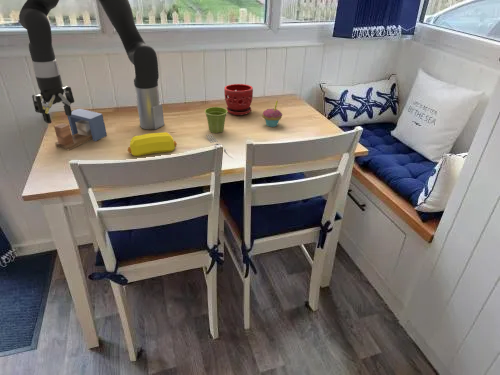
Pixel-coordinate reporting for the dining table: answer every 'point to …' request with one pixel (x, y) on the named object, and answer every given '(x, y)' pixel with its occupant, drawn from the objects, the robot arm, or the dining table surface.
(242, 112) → the plant pot
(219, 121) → the plant pot
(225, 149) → the fork
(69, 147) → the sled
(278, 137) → the dining table surface
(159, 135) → the hot dog
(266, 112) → the cupcake
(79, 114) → the tunnel
